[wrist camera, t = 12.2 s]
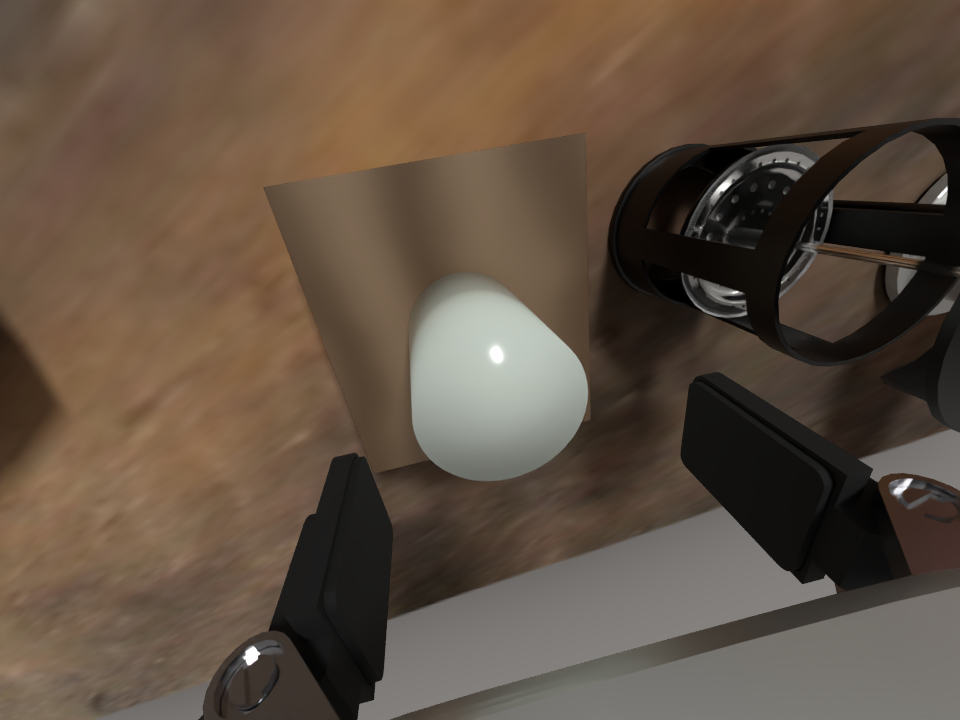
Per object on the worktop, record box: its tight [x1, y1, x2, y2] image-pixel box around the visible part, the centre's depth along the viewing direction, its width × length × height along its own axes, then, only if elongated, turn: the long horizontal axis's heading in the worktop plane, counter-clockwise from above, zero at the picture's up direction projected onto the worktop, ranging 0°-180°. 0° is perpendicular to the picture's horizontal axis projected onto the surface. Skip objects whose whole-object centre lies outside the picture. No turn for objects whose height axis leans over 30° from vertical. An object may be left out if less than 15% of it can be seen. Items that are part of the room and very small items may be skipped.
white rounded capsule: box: [408, 272, 588, 481], centre depth 16 cm, size 6×6×8 cm
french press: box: [609, 118, 960, 432], centre depth 14 cm, size 12×9×23 cm
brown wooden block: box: [263, 133, 591, 473], centre depth 22 cm, size 14×16×5 cm
